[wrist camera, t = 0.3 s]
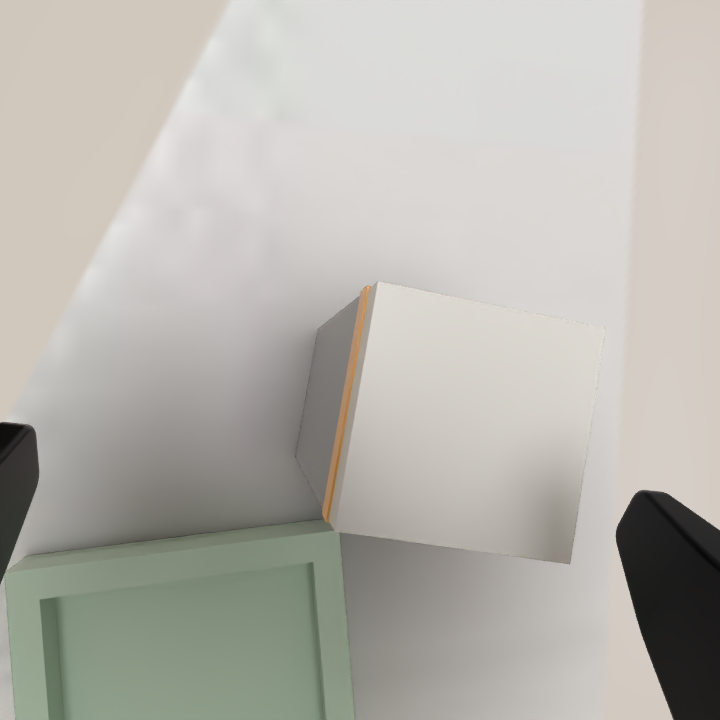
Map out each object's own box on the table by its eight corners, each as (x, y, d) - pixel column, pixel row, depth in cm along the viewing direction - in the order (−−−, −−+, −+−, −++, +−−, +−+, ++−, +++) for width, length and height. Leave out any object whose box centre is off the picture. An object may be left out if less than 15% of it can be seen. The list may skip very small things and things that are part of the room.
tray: (356, 805, 24) (365, 843, 22) (50, 867, 22) (30, 915, 20) (331, 517, 24) (338, 529, 22) (26, 556, 22) (4, 573, 20)
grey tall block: (420, 477, 25) (571, 567, 13) (293, 457, 24) (331, 533, 12) (442, 351, 25) (608, 326, 13) (316, 327, 24) (376, 278, 13)
